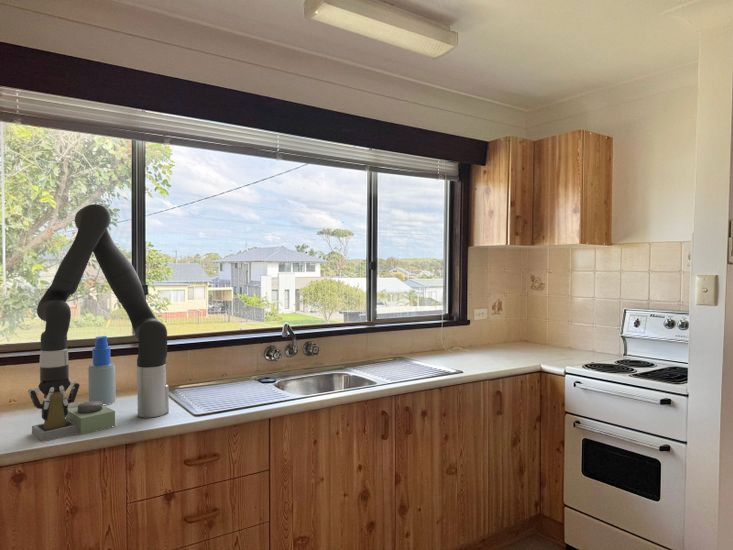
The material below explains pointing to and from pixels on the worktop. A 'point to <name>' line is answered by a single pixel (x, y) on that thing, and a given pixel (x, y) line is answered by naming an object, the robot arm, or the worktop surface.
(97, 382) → the spray bottle
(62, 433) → the stepped tray with pebble
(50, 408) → the olive brown upright piece
